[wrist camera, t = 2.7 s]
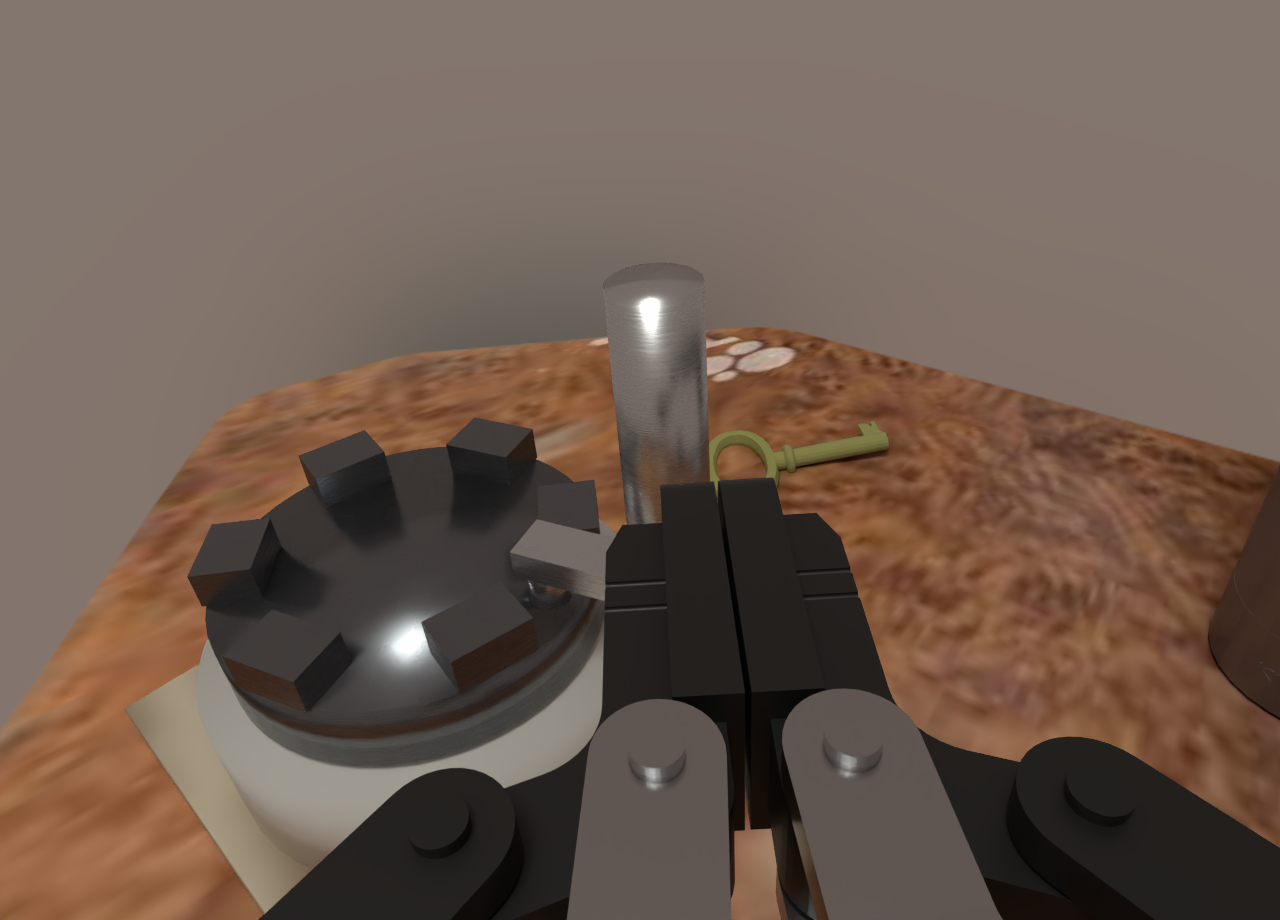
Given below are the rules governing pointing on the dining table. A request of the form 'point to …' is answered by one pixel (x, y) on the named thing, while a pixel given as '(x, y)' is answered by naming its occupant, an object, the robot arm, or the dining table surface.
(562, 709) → the cap housing
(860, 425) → the key
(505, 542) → the cap with crank handle
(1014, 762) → the robot arm
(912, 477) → the dining table surface
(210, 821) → the base board
